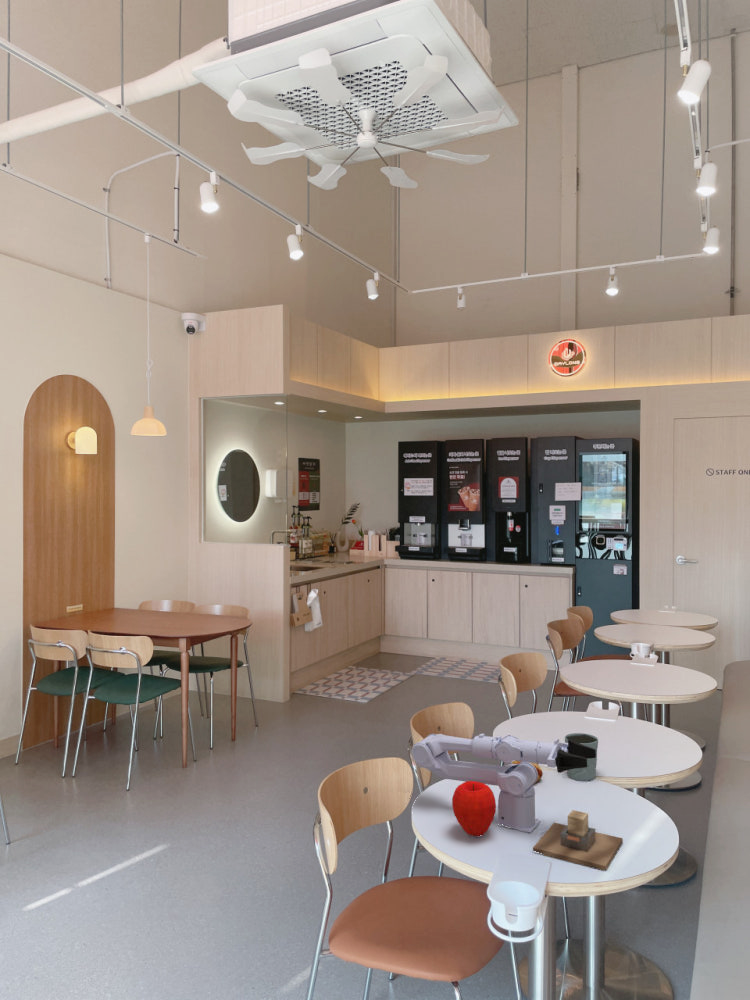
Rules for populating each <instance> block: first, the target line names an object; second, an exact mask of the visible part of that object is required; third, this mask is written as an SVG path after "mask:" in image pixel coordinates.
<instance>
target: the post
mask: <svg viewBox="0 0 750 1000" xmlns="http://www.w3.org/2000/svg"><path fill="white" fill-rule="evenodd" d="M567 825H568V833H569V834H573V835H577V836H581V837H585V836H586V835H587V833H588V827H589V813H587V812H582V811H578V810H575V809H572V810H571V811H570V812H569V814H568V815H567Z"/></svg>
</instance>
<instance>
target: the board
mask: <svg viewBox="0 0 750 1000" xmlns="http://www.w3.org/2000/svg"><path fill="white" fill-rule="evenodd" d="M567 825H568V824H562V823H559V822H553V823H552V824H551V825H550V827H549V828H548V829H547V830H546V832H544V834H543V835H542V836H541V837H540V838H539V840H538V841H537V842H536V844H534V845H533V847H532V852H533V851H536V852H539V853H542V854H544V855H543V856H545V855H546V857H550V858H554V859H557V860H561V861H565V862H569V863H573V864H577V865H581V866H583V867H584V866H585V867H588V866H589V868H592V867H594V868H593V869H596V868H598V869H597V870H600V869H601V871H603V870H605V871H604V872H606V871H607V870H606V869H608V868H609V867H610V864H611V863H612V861H613V859H614V858H615V857H616V855H617V853H618V852H619V850H620V848H621V846H622V845H623V842H624V840H623V839H624V838H623V837H619V836H615V835H610V834H607V833H606V834H605V833H601V832H598V831H595V837H596V841H595V842H594V844H593V845H592V846H591V848H590V849H589V851H588V852H586V851H582V850H578V849H574V848H570V847H565V846H561V832H562V831H563V830H564V829H565V827H566V826H567ZM617 851H618V852H617Z"/></svg>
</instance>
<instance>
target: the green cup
mask: <svg viewBox="0 0 750 1000" xmlns="http://www.w3.org/2000/svg"><path fill="white" fill-rule="evenodd" d="M569 739H574V740H575V741H577V742H578V743H580V744H582V745H585V746H588V747H591V748H593V749H596V758H590V759H587V765H588V766H587V767H585V768H576V769H570V770H566V771H567V773H566V774H567V776H568V778H569V779H571V780H574V781H576V782H588V781H587V780H592V781H594V780H595V779H596V778H597V761H598V746H599V739H598V737H597V736H594V735H592V734H588V733H583V732H581V733H580V732H574V733H569V734H566V735H565V736H564V743H568V740H569Z"/></svg>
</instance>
